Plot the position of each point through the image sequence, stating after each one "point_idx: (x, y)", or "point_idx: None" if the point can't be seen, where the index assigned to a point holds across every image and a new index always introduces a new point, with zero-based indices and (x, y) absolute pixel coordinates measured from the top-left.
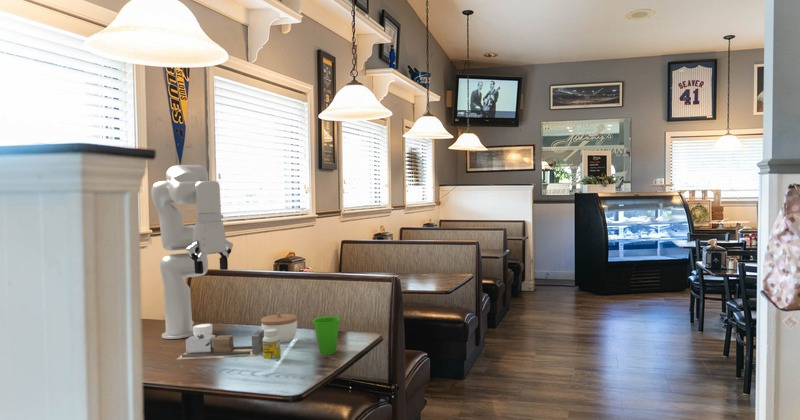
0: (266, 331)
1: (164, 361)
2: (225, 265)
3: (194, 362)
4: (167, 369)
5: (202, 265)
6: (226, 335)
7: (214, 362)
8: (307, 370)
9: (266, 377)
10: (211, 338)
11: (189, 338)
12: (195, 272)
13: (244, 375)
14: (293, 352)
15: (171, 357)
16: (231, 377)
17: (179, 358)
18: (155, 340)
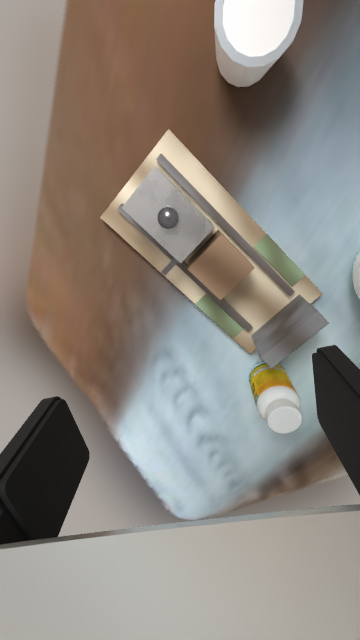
0: (268, 424)
1: (83, 169)
2: (333, 447)
3: None
4: (72, 255)
5: (61, 518)
6: (240, 253)
7: (174, 291)
8: (262, 466)
9: (195, 446)
10: (189, 253)
11: (137, 199)
12: (44, 402)
13: (175, 413)
14: None
15: (110, 139)
16: (153, 406)
17: (109, 217)
18: None
